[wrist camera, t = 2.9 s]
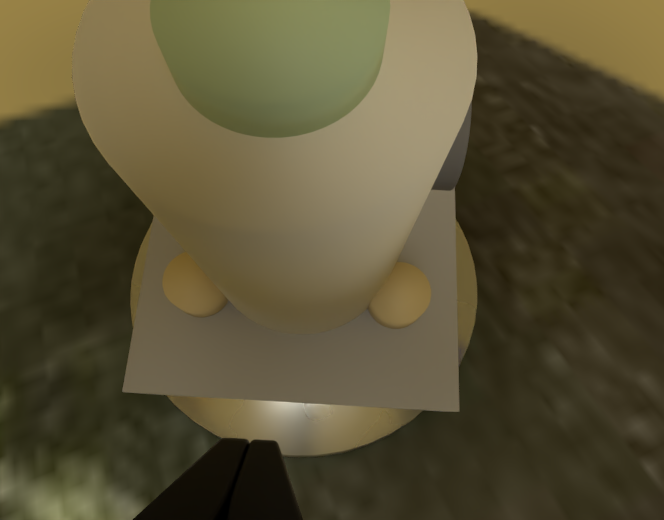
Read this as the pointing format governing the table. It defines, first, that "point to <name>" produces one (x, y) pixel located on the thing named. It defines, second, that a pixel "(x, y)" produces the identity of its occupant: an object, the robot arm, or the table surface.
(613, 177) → the table surface
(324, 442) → the levelling stand
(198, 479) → the robot arm
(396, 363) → the yellow cylinder stand
